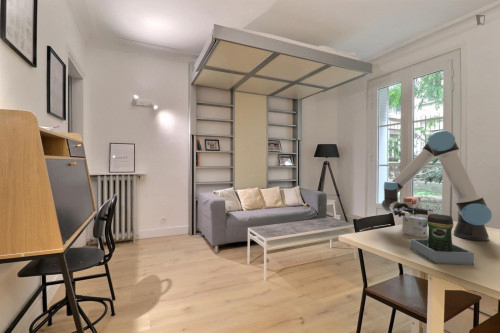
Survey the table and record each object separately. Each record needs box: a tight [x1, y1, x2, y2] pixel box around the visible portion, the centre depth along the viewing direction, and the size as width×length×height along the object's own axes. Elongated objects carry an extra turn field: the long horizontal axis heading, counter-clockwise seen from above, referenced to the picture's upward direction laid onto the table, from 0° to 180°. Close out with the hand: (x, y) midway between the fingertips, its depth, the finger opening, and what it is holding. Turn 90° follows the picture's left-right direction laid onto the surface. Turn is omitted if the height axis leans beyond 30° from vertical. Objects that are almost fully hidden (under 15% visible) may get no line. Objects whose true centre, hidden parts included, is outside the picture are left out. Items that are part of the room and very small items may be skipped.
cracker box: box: [402, 195, 421, 230], centre depth 157 cm, size 14×6×21 cm, turn 127°
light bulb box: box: [402, 216, 428, 238], centre depth 144 cm, size 11×7×11 cm, turn 34°
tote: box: [409, 238, 475, 266], centre depth 110 cm, size 16×18×5 cm
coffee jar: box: [427, 213, 454, 252], centre depth 110 cm, size 10×8×19 cm
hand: (423, 215), depth 121 cm, fingers open, 13 cm apart
